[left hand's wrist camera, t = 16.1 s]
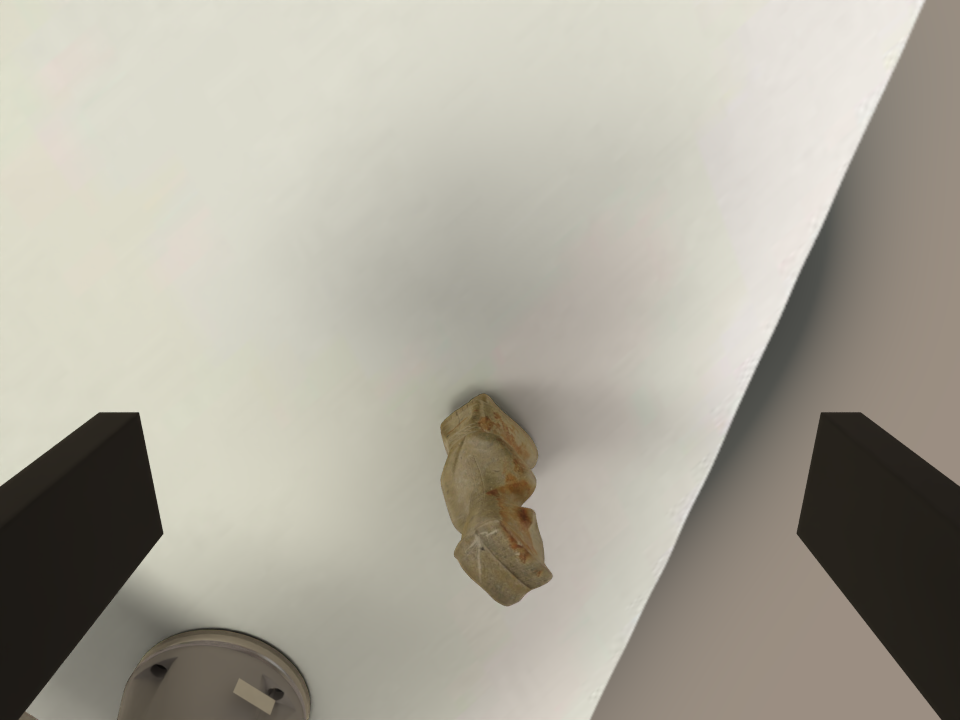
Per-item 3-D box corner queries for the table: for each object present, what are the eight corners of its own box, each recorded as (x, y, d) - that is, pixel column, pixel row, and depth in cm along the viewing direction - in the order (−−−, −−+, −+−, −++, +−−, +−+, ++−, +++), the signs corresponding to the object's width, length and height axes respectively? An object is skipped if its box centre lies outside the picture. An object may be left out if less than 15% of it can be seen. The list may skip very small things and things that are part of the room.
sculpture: (484, 485, 48) (486, 633, 34) (427, 413, 46) (404, 539, 32) (549, 445, 47) (579, 582, 33) (494, 370, 45) (501, 481, 31)
